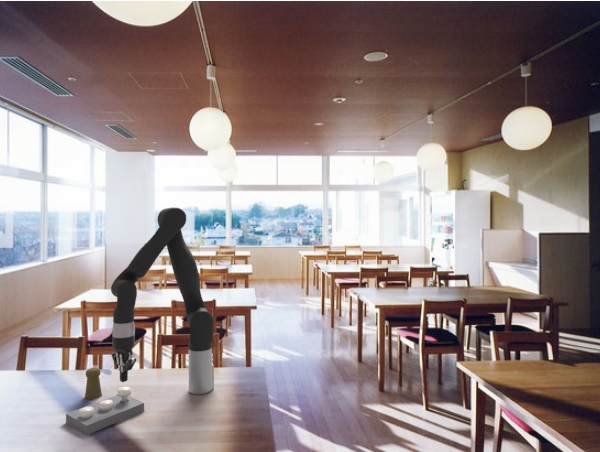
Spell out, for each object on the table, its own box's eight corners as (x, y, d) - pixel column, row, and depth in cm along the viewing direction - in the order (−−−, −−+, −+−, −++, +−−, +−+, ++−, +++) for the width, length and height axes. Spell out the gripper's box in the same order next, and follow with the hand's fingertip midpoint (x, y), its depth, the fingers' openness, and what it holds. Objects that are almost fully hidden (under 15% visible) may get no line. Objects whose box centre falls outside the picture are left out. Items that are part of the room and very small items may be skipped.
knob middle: (108, 412, 155) (108, 398, 155) (115, 415, 152) (115, 401, 152) (96, 416, 152) (96, 403, 151) (103, 420, 149) (103, 406, 149)
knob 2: (126, 398, 161) (126, 385, 161) (133, 401, 158) (133, 388, 158) (115, 402, 157) (115, 389, 157) (122, 405, 155) (122, 392, 154)
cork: (95, 400, 165) (94, 371, 165) (81, 398, 166) (80, 370, 166) (105, 393, 171) (104, 366, 171) (91, 392, 172) (91, 365, 172)
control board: (122, 400, 165) (122, 393, 165) (144, 410, 156) (144, 402, 156) (66, 422, 148) (65, 413, 148) (86, 434, 139) (86, 425, 139)
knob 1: (89, 419, 149) (89, 405, 149) (96, 423, 147) (96, 409, 147) (76, 424, 146) (76, 410, 146) (83, 428, 143) (83, 413, 143)
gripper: (143, 334, 156) (143, 382, 156) (123, 328, 164) (123, 373, 164) (124, 339, 150) (124, 388, 150) (104, 333, 158) (104, 379, 158)
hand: (123, 381), depth 157 cm, fingers closed
